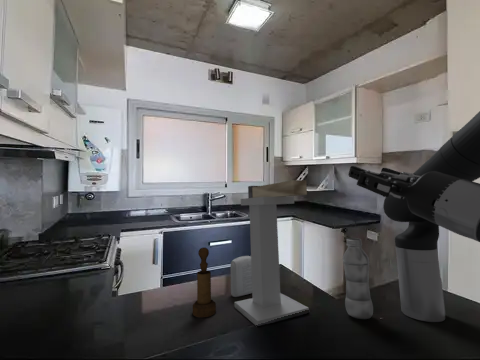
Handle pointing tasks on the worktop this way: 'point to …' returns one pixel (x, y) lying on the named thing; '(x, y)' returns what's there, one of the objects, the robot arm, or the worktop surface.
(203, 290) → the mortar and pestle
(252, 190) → the birch bar
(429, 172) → the robot arm
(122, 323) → the worktop surface
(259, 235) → the stand
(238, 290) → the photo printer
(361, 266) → the plastic bottle
